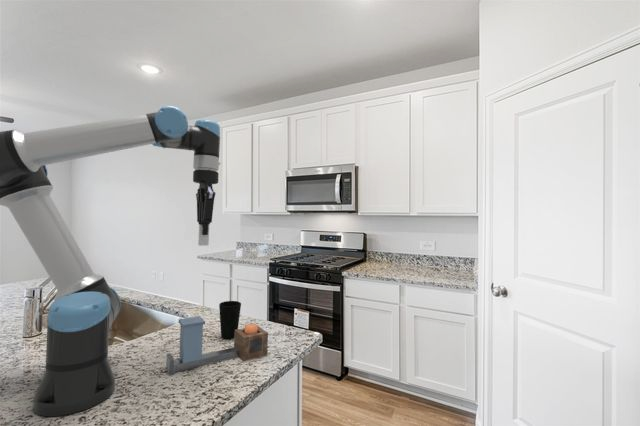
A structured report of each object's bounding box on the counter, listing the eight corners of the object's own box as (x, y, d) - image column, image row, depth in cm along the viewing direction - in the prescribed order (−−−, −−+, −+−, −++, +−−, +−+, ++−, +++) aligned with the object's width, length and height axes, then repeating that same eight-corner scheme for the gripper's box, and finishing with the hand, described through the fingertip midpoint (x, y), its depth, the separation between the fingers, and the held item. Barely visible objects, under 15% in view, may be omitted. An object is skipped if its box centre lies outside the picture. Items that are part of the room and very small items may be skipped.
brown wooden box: (243, 361, 94) (244, 338, 94) (233, 351, 101) (234, 329, 101) (267, 355, 99) (268, 333, 99) (256, 346, 106) (257, 325, 106)
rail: (169, 375, 85) (170, 360, 85) (166, 367, 89) (166, 353, 89) (243, 357, 97) (243, 344, 97) (237, 351, 101) (237, 339, 101)
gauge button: (247, 341, 97) (247, 329, 97) (242, 337, 101) (242, 325, 101) (259, 339, 100) (259, 326, 100) (254, 335, 103) (254, 323, 103)
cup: (226, 342, 108) (227, 307, 108) (213, 337, 113) (214, 303, 113) (244, 336, 114) (245, 303, 114) (231, 331, 119) (232, 299, 119)
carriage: (181, 364, 86) (183, 325, 87) (177, 356, 91) (178, 319, 91) (203, 359, 90) (205, 321, 90) (198, 352, 94) (199, 316, 95)
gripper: (224, 169, 96) (221, 246, 95) (212, 174, 106) (209, 243, 106) (199, 166, 91) (196, 247, 91) (188, 171, 102) (185, 243, 101)
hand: (203, 245), depth 98 cm, fingers closed
